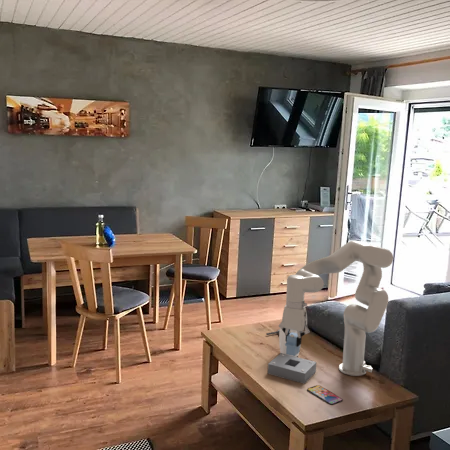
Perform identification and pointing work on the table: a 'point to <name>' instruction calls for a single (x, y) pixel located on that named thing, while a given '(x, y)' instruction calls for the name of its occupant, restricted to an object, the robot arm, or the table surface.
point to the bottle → (284, 342)
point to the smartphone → (324, 395)
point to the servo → (292, 344)
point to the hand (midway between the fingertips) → (293, 344)
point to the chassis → (292, 368)
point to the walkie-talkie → (273, 332)
